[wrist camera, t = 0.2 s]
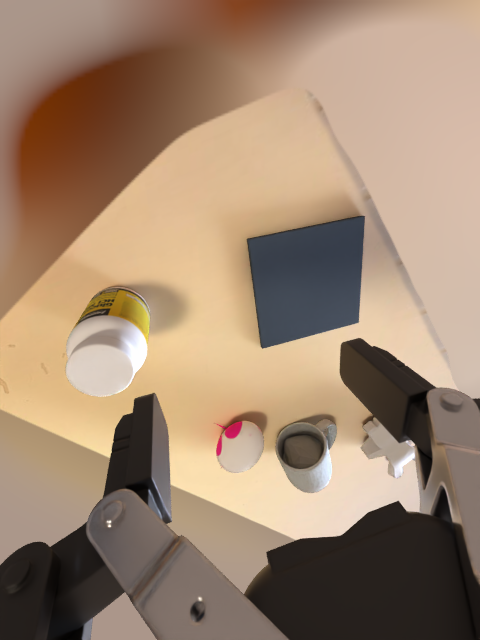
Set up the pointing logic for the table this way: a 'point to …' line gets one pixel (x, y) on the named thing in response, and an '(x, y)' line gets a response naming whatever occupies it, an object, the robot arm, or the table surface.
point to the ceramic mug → (307, 454)
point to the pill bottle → (108, 342)
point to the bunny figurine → (386, 448)
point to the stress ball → (240, 446)
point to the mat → (307, 279)
